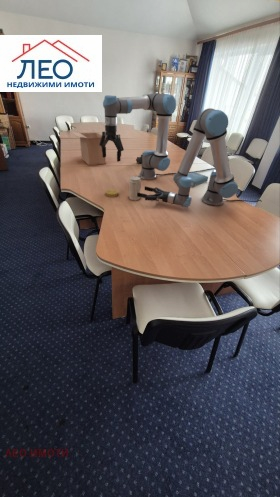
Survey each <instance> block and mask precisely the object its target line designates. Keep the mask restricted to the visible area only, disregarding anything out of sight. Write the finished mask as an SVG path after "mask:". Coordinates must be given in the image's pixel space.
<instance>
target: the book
mask: <svg viewBox="0 0 280 497" xmlns="http://www.w3.org/2000/svg"><path fill="white" fill-rule="evenodd" d="M191 172H192V173H188V176H187V177H189V178H191V179H192V182H191V188H194V187H196V186H199V185H202V184H204V183H207V182H209V176H208V175H205V174H201V173H199V172H194V171H191Z"/></svg>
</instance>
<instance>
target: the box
mask: <svg viewBox="0 0 280 497" xmlns="http://www.w3.org/2000/svg"><path fill="white" fill-rule="evenodd" d="M102 132H103V131H98V132H96V131H95V130H92V129H91V130H77V132H76V131H70V133H71V134H72V135H74V136H75V137H77V138H79V144H80V153H81V160H83V162H85V163H86V165H87V166H95V165H97V166H98V165H106V163H107V162H106V158H107V156H106V157H104V158H103V152H102V147H101V146H100V145H99V144H100V141H101V138H102ZM105 138H106V137H105Z"/></svg>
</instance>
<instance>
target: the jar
mask: <svg viewBox="0 0 280 497" xmlns="http://www.w3.org/2000/svg"><path fill="white" fill-rule="evenodd" d="M141 187H142V180H141V178H140V177H139V176H135V175H133V176H130V177H129V184H128V199H129V200H131V201H139V200H140V198H141V197H138V196H137V193H141Z"/></svg>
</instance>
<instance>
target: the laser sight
mask: <svg viewBox="0 0 280 497" xmlns="http://www.w3.org/2000/svg"><path fill="white" fill-rule="evenodd" d="M142 156H143V153H142V154H140V156H137V157H136V158H135V162H136V163H137V164H139V165H140V164H141V165H142Z"/></svg>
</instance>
